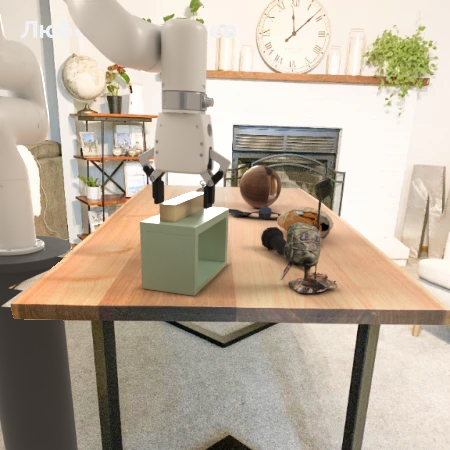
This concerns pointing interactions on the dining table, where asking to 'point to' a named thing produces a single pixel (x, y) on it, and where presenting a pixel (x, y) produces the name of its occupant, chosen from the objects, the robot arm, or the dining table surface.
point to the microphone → (274, 240)
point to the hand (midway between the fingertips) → (183, 205)
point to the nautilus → (306, 219)
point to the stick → (181, 207)
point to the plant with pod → (308, 248)
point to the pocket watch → (201, 190)
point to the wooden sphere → (260, 186)
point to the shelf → (184, 251)
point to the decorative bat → (263, 212)
